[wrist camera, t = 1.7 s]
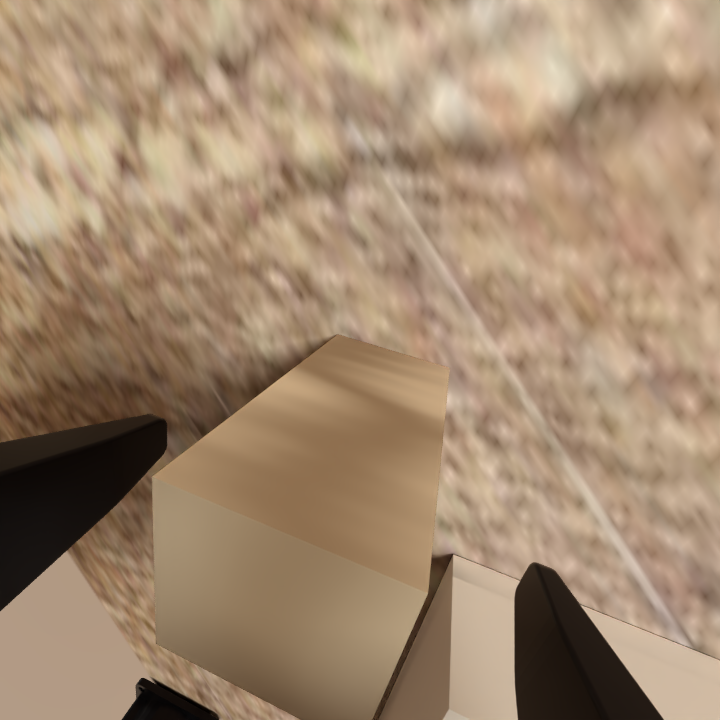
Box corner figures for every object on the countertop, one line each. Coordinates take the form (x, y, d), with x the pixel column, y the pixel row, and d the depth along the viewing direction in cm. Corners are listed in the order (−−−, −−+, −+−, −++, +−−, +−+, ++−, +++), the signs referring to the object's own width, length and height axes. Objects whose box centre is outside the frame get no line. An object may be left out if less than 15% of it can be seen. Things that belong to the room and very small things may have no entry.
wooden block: (318, 428, 14) (156, 643, 6) (337, 334, 12) (151, 476, 5) (416, 462, 13) (358, 749, 6) (449, 368, 11) (427, 592, 4)
